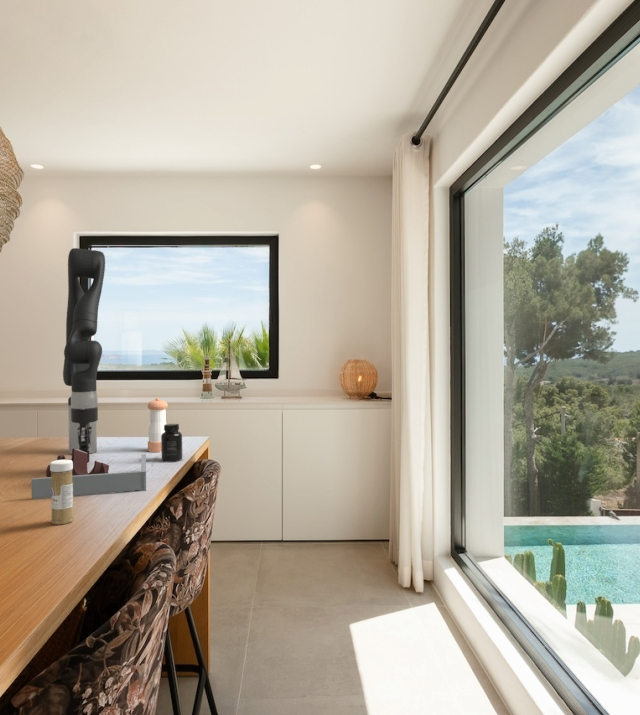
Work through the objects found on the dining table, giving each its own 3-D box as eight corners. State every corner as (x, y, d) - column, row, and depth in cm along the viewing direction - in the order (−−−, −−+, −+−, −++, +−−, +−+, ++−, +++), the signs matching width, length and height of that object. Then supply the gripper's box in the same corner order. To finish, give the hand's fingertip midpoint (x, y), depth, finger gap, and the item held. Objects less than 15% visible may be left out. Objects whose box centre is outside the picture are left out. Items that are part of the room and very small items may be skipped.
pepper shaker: (168, 451, 206) (167, 398, 205) (147, 452, 204) (146, 399, 203) (168, 448, 213) (168, 397, 212) (148, 449, 211) (147, 397, 211)
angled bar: (47, 477, 168) (47, 460, 168) (145, 470, 176) (145, 454, 176) (31, 499, 144) (31, 479, 144) (146, 490, 152) (145, 471, 152)
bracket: (101, 478, 154) (101, 442, 158) (44, 489, 156) (46, 454, 160) (113, 481, 160) (113, 447, 163) (58, 492, 162) (59, 458, 166)
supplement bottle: (186, 458, 194) (186, 423, 193) (175, 462, 187) (174, 426, 187) (169, 457, 196) (168, 422, 195) (157, 461, 189) (156, 425, 189)
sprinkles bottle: (47, 522, 125) (46, 461, 125) (67, 517, 129) (66, 458, 128) (57, 526, 122) (55, 464, 122) (77, 521, 126) (76, 460, 125)
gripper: (73, 404, 179) (74, 459, 179) (68, 409, 166) (69, 468, 167) (99, 403, 181) (100, 457, 182) (95, 408, 168) (96, 466, 169)
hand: (85, 462), depth 174 cm, fingers closed
